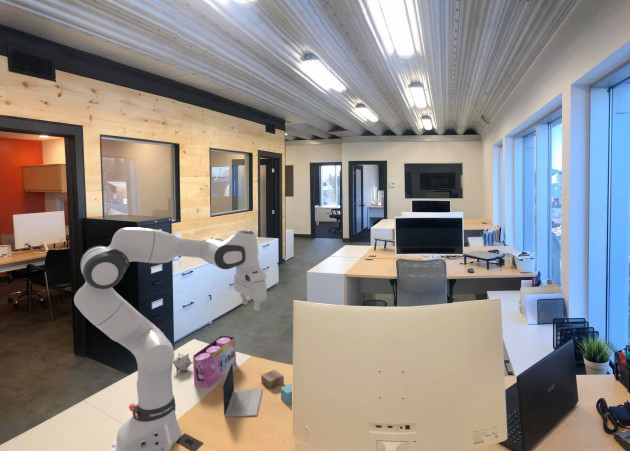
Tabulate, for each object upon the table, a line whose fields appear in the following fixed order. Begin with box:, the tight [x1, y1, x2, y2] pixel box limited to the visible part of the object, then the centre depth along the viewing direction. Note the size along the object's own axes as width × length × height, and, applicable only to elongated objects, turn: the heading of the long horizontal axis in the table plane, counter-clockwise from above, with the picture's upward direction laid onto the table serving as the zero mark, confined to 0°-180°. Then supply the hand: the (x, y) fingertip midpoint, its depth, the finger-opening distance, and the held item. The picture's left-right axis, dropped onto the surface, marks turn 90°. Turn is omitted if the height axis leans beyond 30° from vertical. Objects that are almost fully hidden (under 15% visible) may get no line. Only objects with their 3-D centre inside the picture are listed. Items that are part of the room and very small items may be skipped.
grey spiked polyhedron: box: [173, 353, 193, 373], centre depth 180 cm, size 9×8×10 cm
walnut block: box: [260, 369, 285, 390], centre depth 167 cm, size 7×7×4 cm
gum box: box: [192, 335, 237, 388], centre depth 176 cm, size 24×8×14 cm, turn 160°
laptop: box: [221, 363, 263, 418], centre depth 153 cm, size 18×12×13 cm
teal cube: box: [280, 383, 293, 406], centre depth 155 cm, size 5×5×5 cm
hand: (250, 306), depth 148 cm, fingers open, 8 cm apart
